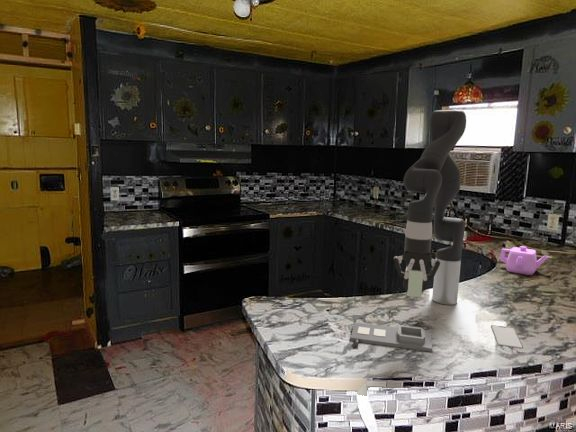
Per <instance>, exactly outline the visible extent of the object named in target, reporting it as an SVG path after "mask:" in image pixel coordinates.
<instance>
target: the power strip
mask: <svg viewBox="0 0 576 432" xmlns="http://www.w3.org/2000/svg"><path fill="white" fill-rule="evenodd" d="M353 323H354V324H353V328H352V331H351V335H350V341H351V342H354V344H353V346H354V348H358V347H359V343H365V344H374V345H381V346H387V347H388V346H389V347H395V348H396V347H397V348H403V349H409V350H417V351H424V352H431V353H432V352H433V343H432V338H431V332H430V331H425V328H424V329H423V327H418V326H410V325H409V326H408V325H400V324H399V325H398V326H397V327H394V326H387V325H386V326H385V325H379V324H371V323H362V322H353Z"/></svg>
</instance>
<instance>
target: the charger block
mask: <svg viewBox="0 0 576 432" xmlns="http://www.w3.org/2000/svg"><path fill="white" fill-rule="evenodd" d="M409 269H410V268H409ZM408 279H409V280H408V291H407V293H406V294H407V297H412V298H413V297H415V298H422V295H423V294H422V293H423V292H422V282H423V271H421V270H419V269H411V270H409V277H408Z"/></svg>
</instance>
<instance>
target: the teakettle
mask: <svg viewBox="0 0 576 432" xmlns="http://www.w3.org/2000/svg"><path fill="white" fill-rule="evenodd" d="M506 253H508V255H507V257H506ZM548 258H549V256H548V255H543V256H542V257H540V258H539V259H538V260H537V250H535V249H532V248H531V249H530V248H528V247H527V246H524V245H521V246H519V247H516V246H513V247H511V248H510V249H509V248H501V251H500V255H499V260H500V261H501V262H503V263H504V264H505V267H506V268H505V269H506V271H507V272H508V273H509V272H510V273H514V274H515V273H516V274H521V275H527V276H532V275H534V274H535V273H536V270H537V269H538V268H539V267H541V265H542V264H543V263H545V261H546V260H547V259H548Z"/></svg>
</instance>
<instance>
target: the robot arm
mask: <svg viewBox="0 0 576 432" xmlns="http://www.w3.org/2000/svg"><path fill="white" fill-rule="evenodd" d="M466 126H467V116H466V113H465V112H464V110H461V109H442V110H441V109H439V110H438V109H437V110H434V111H433V112H432V113H431V115H430V118H429V133H430V134H429V135H430V144H429V143H428V145H427V146H426V147H425V148H424V150H423V152H422V154H421V156H420V158H419V159H418V160H417V161H416V162H414V164H412V165H411V166H410V167H409V168H408V169H407V170H406V172H405V174H404V176H403V186H404V188H405V190H407V191H408V192H411V193H419V194H426V195H425V197H424V198H423V199H416V200H412V201H410V202H409V204H408V206H407V220H406V227H405V232H404V233H405V235H404V236H405V237H404V251H403V252H402V255H399V256H398V255H395V256H393V262H394V266H395V269H396V272H397V275H398V277H402V278H403V284H402V285H403V289H405V291H408V280H409V279H408V277H409V270H411V269H419V270H421V271H423V282H422V293H424V291H425V292H426V291H427V282H428V281H429V280H433V286H432V297H431V299H432V301H433V302H435V303H438V304H440V305H446V306H447V305H451V306H452V305H456V304H458V296H459V295H458V294H459V285H460V284H459V283H460V275H461V262H462V254H463V244H464V239H465V238H464V236H465V233H466V232H465V231H466V224H465V223H466V222H465V220H464V219H462V218H458V217H447V216H445V211H446V209H447V208H448V206H449V205H450V203H451V202H452V201H453V200H454V199H455V197H456V196H457V195H458V193H459V192H460V189H461V169H460V167H459V166H458V164H457V163H456V161H455V159H454V158H453V157H452V155H450V152H451V151H452V150H453V148H454V147H455V146H456V145H457V144H458V142H459V141H460V139H461V138H462V137H463V136H464V133H465V131H466V128H467V127H466ZM433 235H434V238H435V239H436V240H437V241H443V242H452V245H451V246H448V247H444V248H443V247H442V248H439V249H437V250H436V252H435V258H434V257H432V255H431V251H432V237H433ZM402 260H403V262H404V263H405V264H406V268H405V271H402V267H401V264H402ZM429 264H431V266H432V267H431V270H430V271H429V273H428V274H427V271H426V267H427V266H428V265H429ZM409 268H410V269H409Z"/></svg>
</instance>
